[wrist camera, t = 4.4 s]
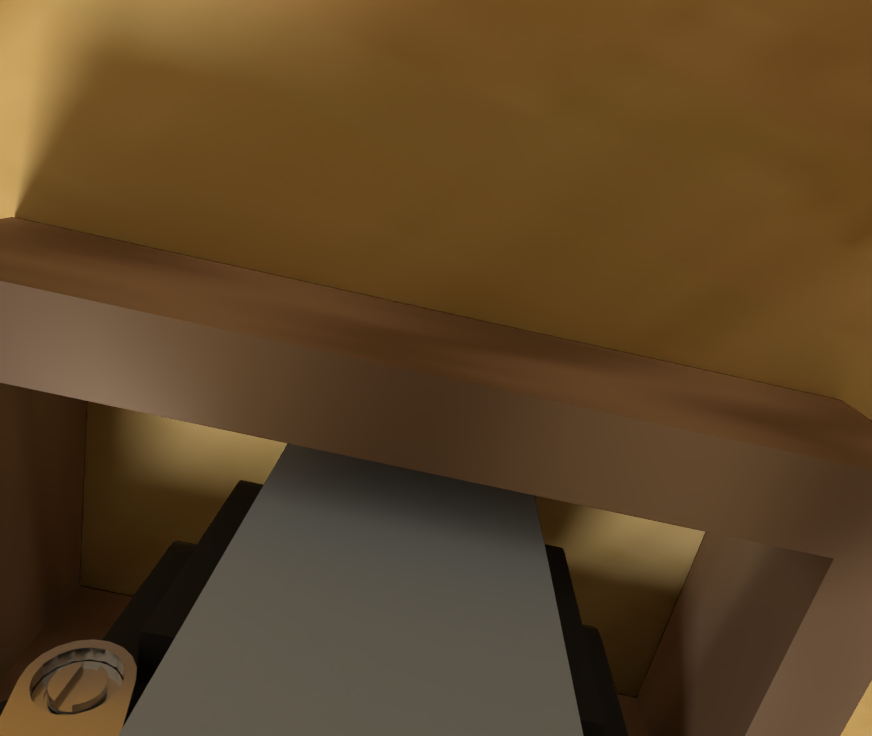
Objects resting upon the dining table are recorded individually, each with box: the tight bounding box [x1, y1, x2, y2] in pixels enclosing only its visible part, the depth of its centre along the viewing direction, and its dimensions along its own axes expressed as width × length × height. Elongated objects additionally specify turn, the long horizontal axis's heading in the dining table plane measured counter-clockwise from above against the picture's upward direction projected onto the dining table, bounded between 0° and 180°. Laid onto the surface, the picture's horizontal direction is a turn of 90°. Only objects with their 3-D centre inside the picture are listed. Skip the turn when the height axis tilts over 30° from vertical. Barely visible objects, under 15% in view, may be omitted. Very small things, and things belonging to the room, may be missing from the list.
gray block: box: [118, 443, 583, 736], centre depth 10 cm, size 4×4×8 cm
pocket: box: [0, 217, 872, 736], centre depth 12 cm, size 16×10×4 cm, turn 78°
